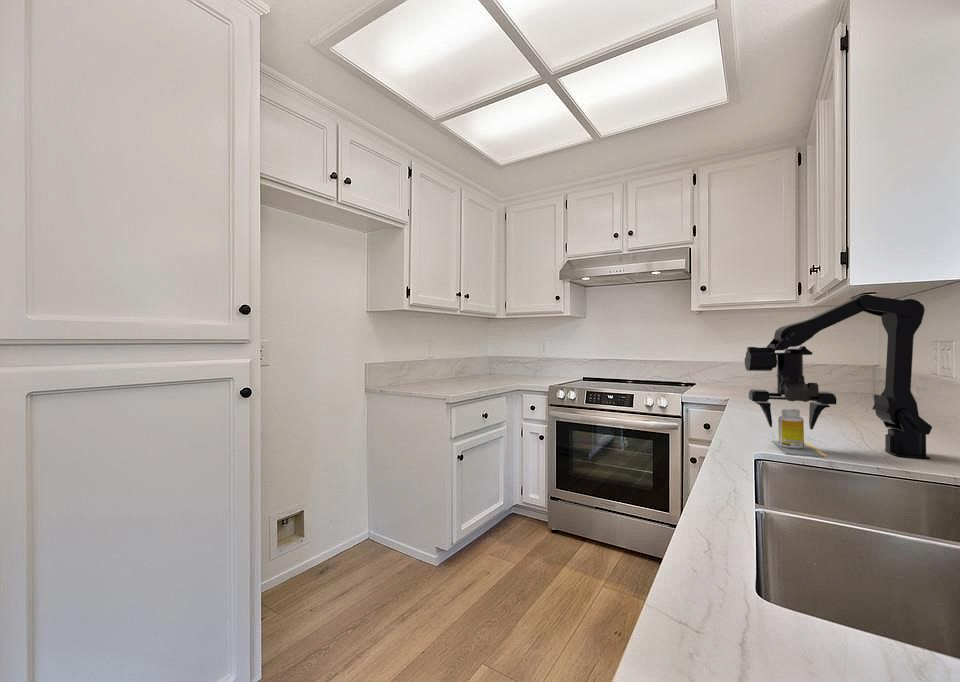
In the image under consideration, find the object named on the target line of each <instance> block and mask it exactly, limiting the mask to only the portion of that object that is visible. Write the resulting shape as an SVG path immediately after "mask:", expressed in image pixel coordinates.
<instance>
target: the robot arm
mask: <svg viewBox="0 0 960 682" xmlns="http://www.w3.org/2000/svg"><path fill="white" fill-rule="evenodd" d="M925 311H926V310H925V305H924V304H923V303H921V302H920V301H919V300H918V299H914V298H913V299H912V298H907V299H897V298H890V297H882V296H877V295H876V296H875V295H872V294H860V295H855V296H854V297H852V298H851V299H849V300H846V301H845V302H843V303H841V304H838V305H836V306H834V307H832V308H829V309H828V310H826V311H824V312H821V313H819V314H816V315H815V316H812V317H811V318H808V319H806V320H801V321H797V322H794V323H791V324H787V325H784V326H780V327H779V328H777V329H776V330H775V332H774V335H773V336H774V337H773V339H772V340H771V341H770V342H769V343H768V344H767V346H766V347H757V346H756V347H755V346H747V348H746V353H745V357H744V366H745V370H746V371H747V372H771V371H772V370H773V369H776V373H777V374H776V378H777V379H776V380H777V383H776V384H777V389H776V390H777V391H776V392H769V391H768V390H766V389H750V390H749V391H748V400H750V401H752V402H754V403H755V404H756V405H759V407H760V408H761V411H762V412H763V414H764V417H765V419H766V421H767V423H768V425H769V427H770V428H772V427H773V418H772V411H771V409H772V408H771V405H772V403H770V402H769V400H779V401H780V400H782V401H783V400H784V401H789V402H804V403H807V402H809V410H808V411H809V414H808V415H809V416H808V417H809V418H808V423H809V424H808V426H809V429H810V430H813V429H814V428H815V426H816V423H817V421H818V419H819V416H820V414H821V413H822V412H823V410H825V409H826V408H830V407H831V405H837V396H836V394H835V393H832V392H830V391H819V384H818V383H817V382H807V383H806V382H805V381H806V380H805V376H804V356H811V355H813V353H814V352H813V351H811V350H809V349H808V348H807V347H806V346H804V345H803V344H805V343H807V341H808V340H809V341H810V339H812V338H813V337H814V336H816V334H818V333H819V332H821V331H822V330H825V329H827V328H829V327H831V326H834V325H836V324H838V323H840V322H843V321H844V320H846V319H849V318H851V317H854V316H855V315H858V314H860V313H863V312H864V313H866V314H870V315H872V316H877V317H880V318H881V324H882V325H883V328H884V330H885V331H886V334H887V347H886V362H885V363H886V365H885V366H886V367H885V383H884V389H883V390H882V393H881V394H880V395H879V394H873V401H874V404H873V406H872V410H874V411H875V416H876V417H878V419H880V421H882V423H883V425H884V426H885V428H887V434H885V435H884V438H885V441H884V443H885V448H884V451H885V452H888V453H889V454H891V455H893V456H895V457H903V458H916V459H918V458H919V459H931V456H929V455H927V435H930V434H931V431H932V429H933V426H932V425H931V424H929V422H927V421H925V420H924V419H923V418H922V417H921V416H920V414H919V409H918V402H917V401H916V399H915V397H914V395H913V393H912V374H913V372H912V370H913V358H914V357H913V355H914V354H913V353H914V352H913V351H914V338H915V337H914V336H915V334H916V332H917V330H918V329H919V328H920V326H921V325H922V323H923V322H922V321H923V319H924V315H925ZM799 346H800V347H799ZM790 347H792V348H790ZM794 347H798V348H794ZM776 351H784V352H776ZM810 401H811V402H810Z"/></svg>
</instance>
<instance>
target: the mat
mask: <svg viewBox="0 0 960 682" xmlns="http://www.w3.org/2000/svg"><path fill="white" fill-rule="evenodd" d="M771 443H772V444H774V445H775V446H776V447H777V448H778V449H780V450H781V452H782V453H784V455H791V456H803V457H817V458H828V457H829V456H828V454H826V453H824V452H823V451H821V450H820V449H818V448H817V447H816V446H814V445H813V444H811V443H810V442H807V441H806V442H805V441H804V447H803V448H801V449H793V448H786V447H782V446H780V445H779V440H771Z"/></svg>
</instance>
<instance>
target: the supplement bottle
mask: <svg viewBox="0 0 960 682" xmlns="http://www.w3.org/2000/svg"><path fill="white" fill-rule="evenodd" d="M800 411H801V410H799V409H798V408H797V409H796V408H781V415H779V416H778V441H779V445H780V446H782V447H786V448H793V449H801V448H803V447H804V442H805V430H804V428H805V427H804V418H803V417H802V416H801V414H800V413H801V412H800Z"/></svg>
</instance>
